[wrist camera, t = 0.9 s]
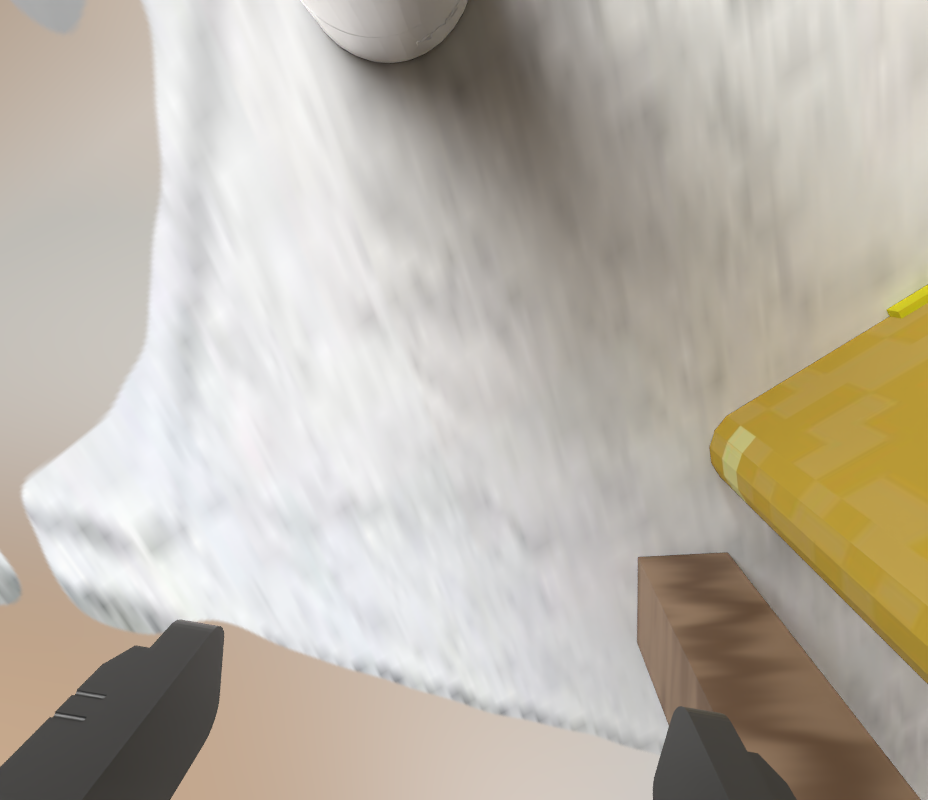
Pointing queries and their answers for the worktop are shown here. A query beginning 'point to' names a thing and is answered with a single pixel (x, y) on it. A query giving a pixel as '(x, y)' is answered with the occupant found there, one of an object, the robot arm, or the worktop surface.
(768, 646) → the tall brown wooden column
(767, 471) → the book
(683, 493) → the worktop surface
